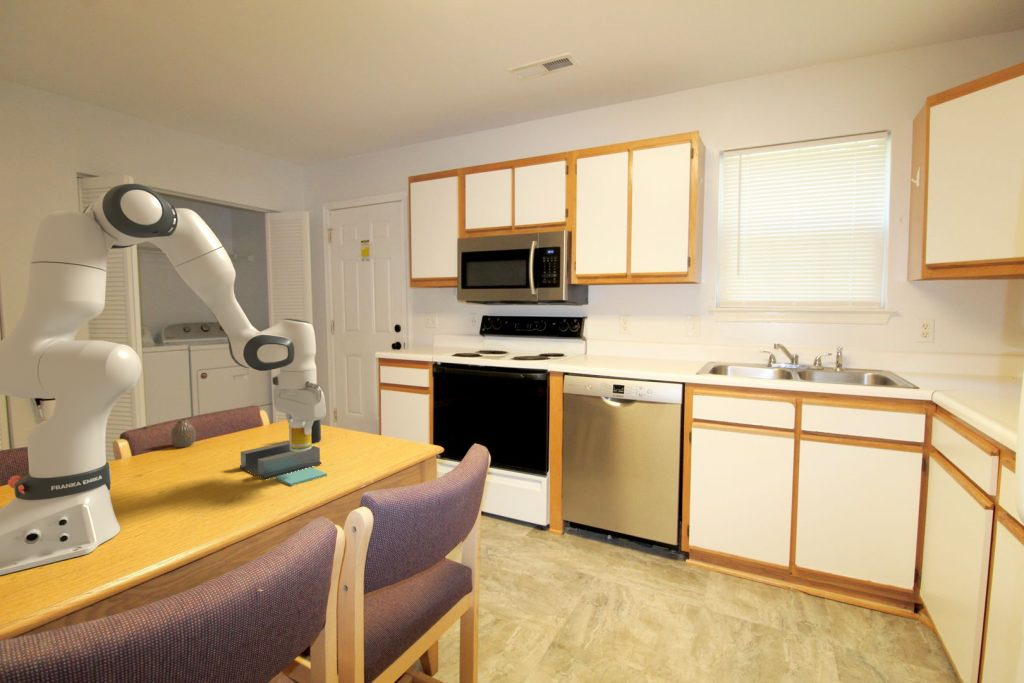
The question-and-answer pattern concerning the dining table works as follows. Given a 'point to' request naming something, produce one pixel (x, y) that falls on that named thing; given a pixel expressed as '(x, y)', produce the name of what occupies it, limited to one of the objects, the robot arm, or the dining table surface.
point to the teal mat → (300, 476)
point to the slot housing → (278, 460)
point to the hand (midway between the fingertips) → (300, 431)
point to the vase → (183, 434)
